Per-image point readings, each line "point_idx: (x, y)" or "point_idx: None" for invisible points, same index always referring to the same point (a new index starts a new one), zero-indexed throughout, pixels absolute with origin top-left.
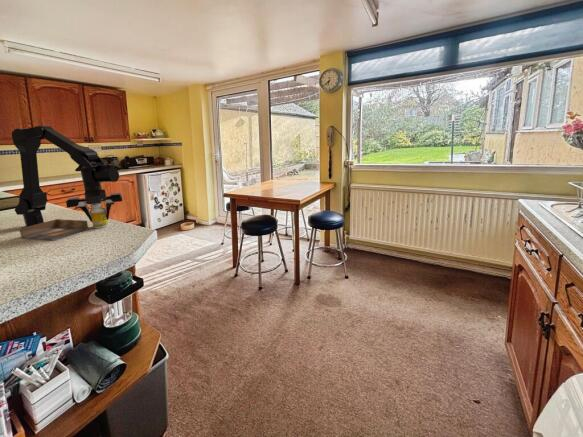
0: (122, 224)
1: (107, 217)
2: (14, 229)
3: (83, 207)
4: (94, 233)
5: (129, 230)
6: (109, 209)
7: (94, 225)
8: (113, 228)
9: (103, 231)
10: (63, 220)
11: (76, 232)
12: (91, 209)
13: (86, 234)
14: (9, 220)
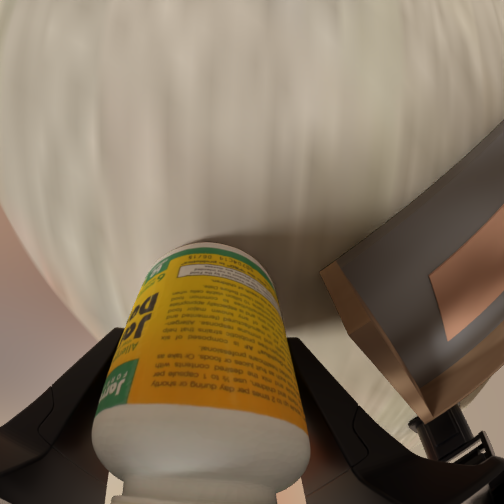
0: (41, 250)
1: (111, 343)
2: (468, 396)
3: (452, 492)
4: (281, 38)
5: (8, 9)
6: (30, 410)
7: (267, 281)
8: (87, 136)
9: (184, 59)
10: (425, 404)
11: (420, 199)
12: (286, 486)
13: (357, 64)
14: (421, 449)
